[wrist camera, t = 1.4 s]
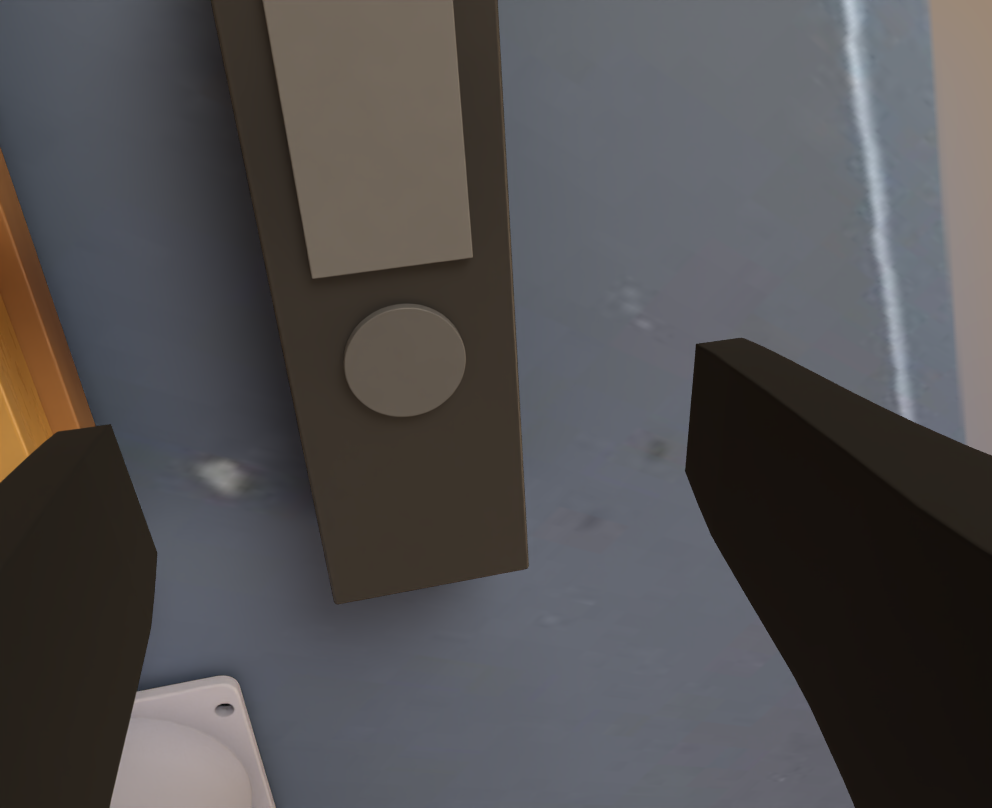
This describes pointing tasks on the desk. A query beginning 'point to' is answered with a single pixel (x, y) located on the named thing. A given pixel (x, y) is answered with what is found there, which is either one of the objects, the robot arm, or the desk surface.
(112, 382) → the desk surface
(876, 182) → the desk surface
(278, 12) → the remote
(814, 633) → the robot arm
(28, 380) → the footstool
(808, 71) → the desk surface
